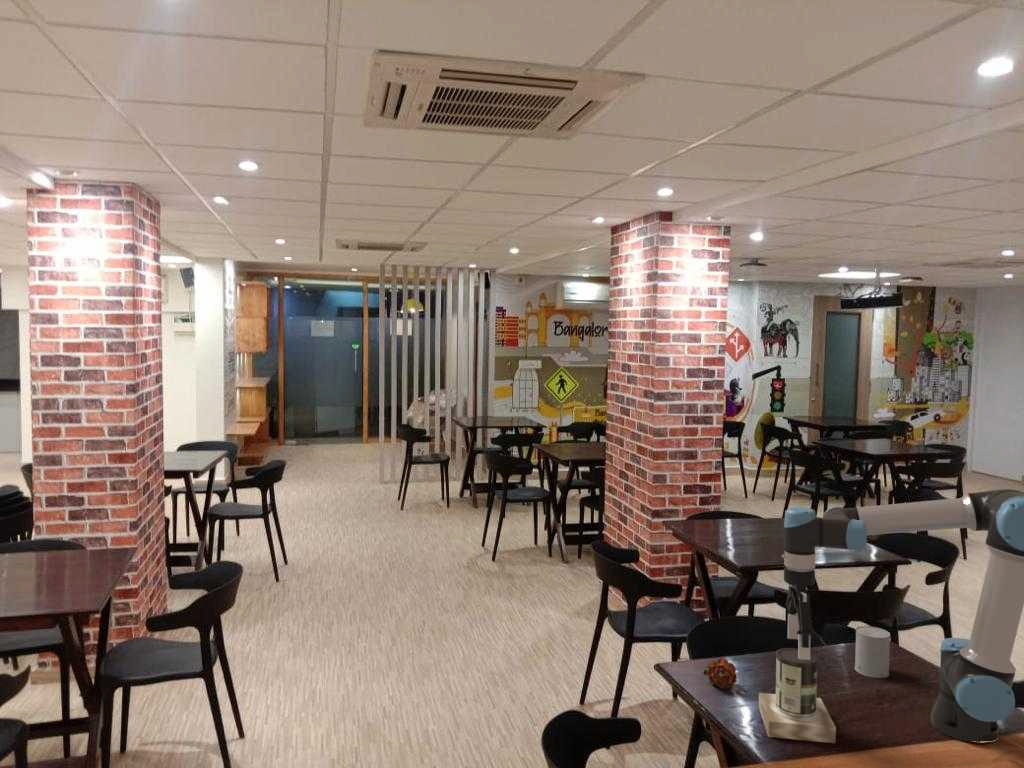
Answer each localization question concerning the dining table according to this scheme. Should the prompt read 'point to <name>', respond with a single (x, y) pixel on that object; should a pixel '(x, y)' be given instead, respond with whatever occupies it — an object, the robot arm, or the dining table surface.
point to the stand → (796, 722)
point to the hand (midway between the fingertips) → (798, 648)
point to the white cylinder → (872, 651)
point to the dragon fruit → (721, 673)
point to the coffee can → (796, 683)
